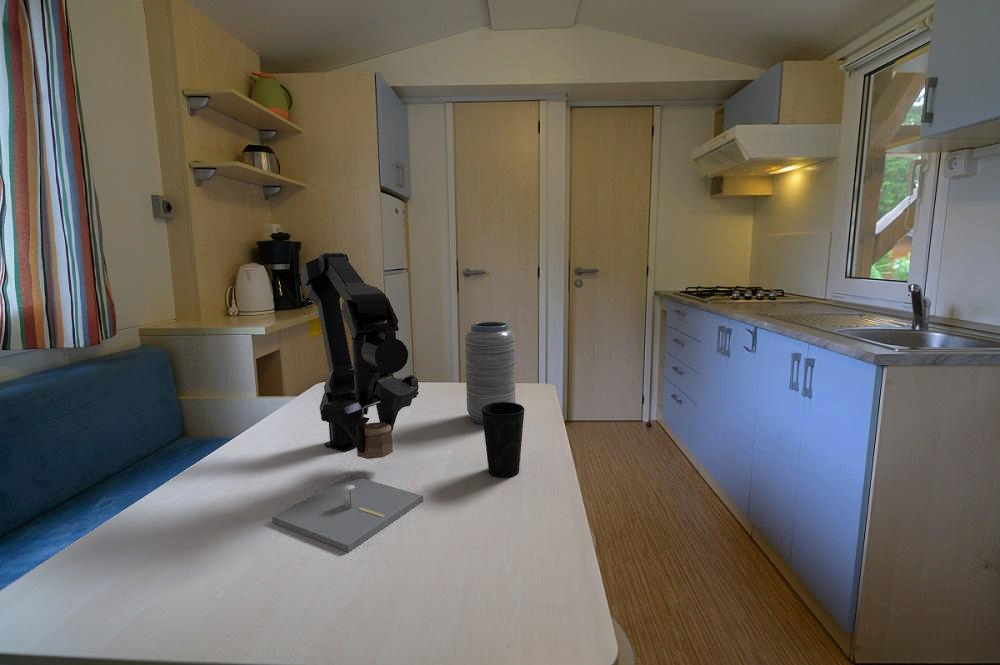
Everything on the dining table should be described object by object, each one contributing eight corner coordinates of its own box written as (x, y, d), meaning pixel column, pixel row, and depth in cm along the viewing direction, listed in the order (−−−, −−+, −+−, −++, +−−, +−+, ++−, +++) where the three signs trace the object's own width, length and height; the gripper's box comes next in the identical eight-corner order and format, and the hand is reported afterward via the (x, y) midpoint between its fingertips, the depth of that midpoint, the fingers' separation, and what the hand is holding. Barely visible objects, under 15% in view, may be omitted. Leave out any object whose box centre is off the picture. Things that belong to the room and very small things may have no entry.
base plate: (272, 522, 77) (269, 497, 76) (351, 480, 90) (350, 459, 90) (348, 552, 69) (346, 524, 68) (423, 501, 82) (422, 478, 82)
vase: (524, 416, 124) (523, 322, 120) (498, 430, 114) (497, 329, 110) (484, 408, 130) (483, 319, 126) (457, 421, 120) (454, 325, 117)
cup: (494, 484, 88) (493, 417, 86) (476, 468, 95) (474, 405, 93) (532, 474, 91) (532, 410, 90) (512, 459, 98) (511, 399, 96)
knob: (375, 461, 89) (374, 434, 88) (350, 454, 92) (348, 429, 91) (399, 448, 94) (398, 424, 94) (374, 443, 97) (373, 418, 97)
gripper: (365, 379, 79) (370, 474, 81) (437, 357, 95) (440, 437, 97) (315, 372, 84) (322, 461, 87) (392, 351, 100) (396, 427, 103)
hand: (374, 446), depth 93 cm, fingers closed on knob, 6 cm apart
